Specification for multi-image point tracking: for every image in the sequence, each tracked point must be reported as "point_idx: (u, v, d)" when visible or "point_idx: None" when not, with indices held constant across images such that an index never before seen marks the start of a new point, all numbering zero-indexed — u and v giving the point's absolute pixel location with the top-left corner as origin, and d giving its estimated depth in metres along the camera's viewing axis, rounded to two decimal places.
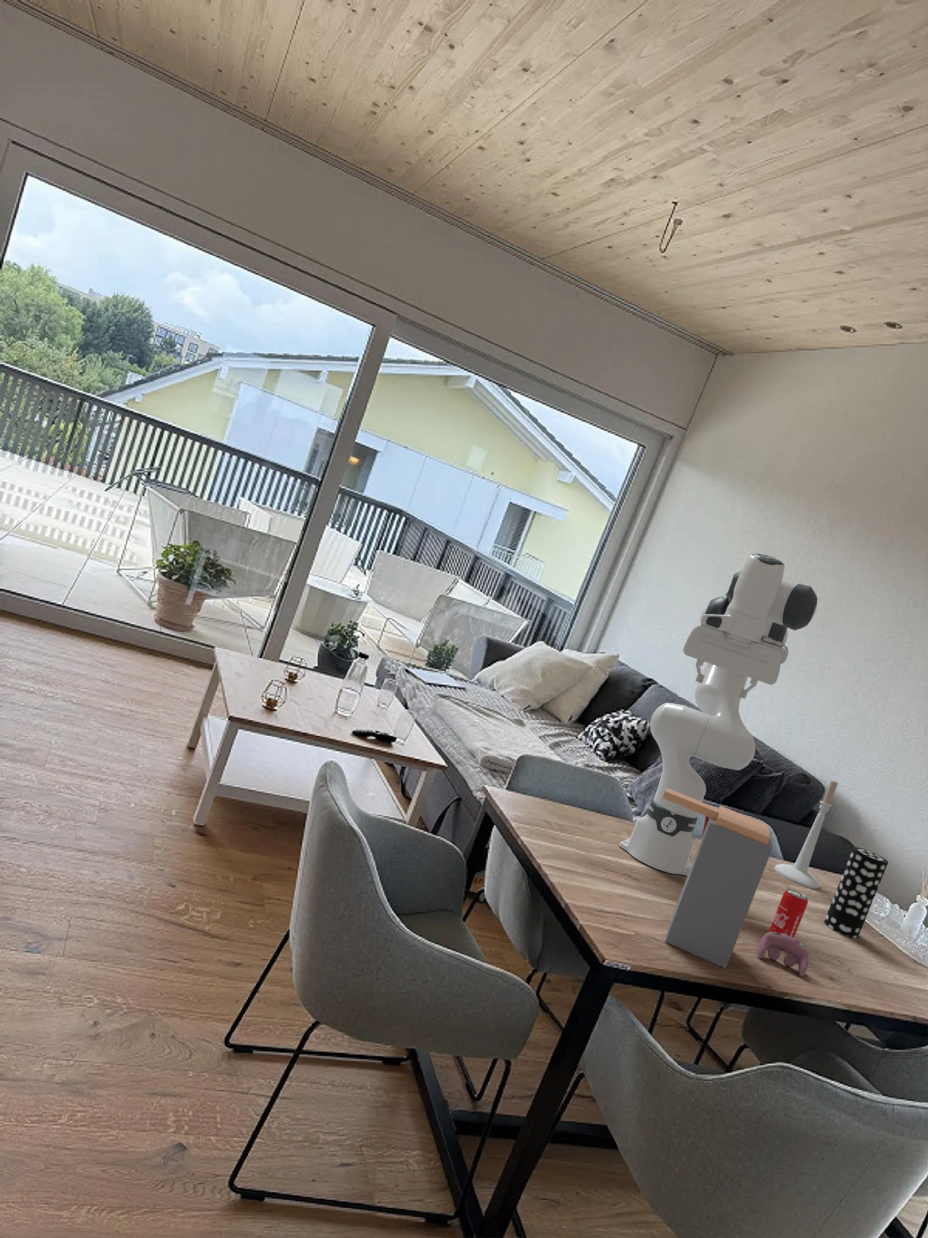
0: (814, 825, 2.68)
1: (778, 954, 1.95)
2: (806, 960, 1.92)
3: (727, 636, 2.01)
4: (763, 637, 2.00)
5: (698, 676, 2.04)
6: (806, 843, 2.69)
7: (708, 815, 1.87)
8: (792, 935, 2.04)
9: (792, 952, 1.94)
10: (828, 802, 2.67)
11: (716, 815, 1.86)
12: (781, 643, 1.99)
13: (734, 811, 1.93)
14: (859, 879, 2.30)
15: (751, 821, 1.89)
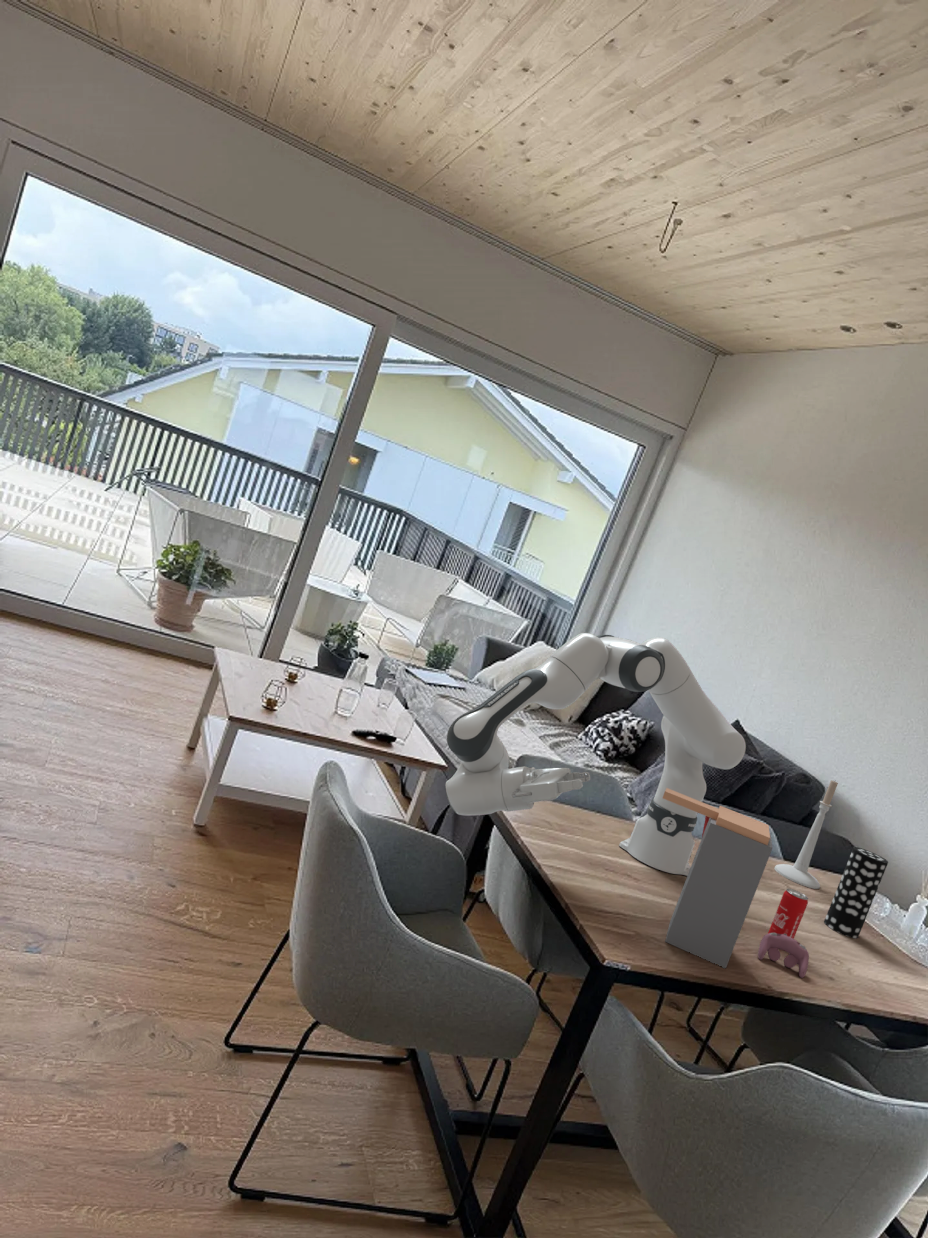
0: (814, 825, 2.68)
1: (778, 955, 1.94)
2: (807, 961, 1.92)
3: None
4: None
5: None
6: (806, 843, 2.69)
7: (708, 815, 1.87)
8: (792, 935, 2.04)
9: (792, 953, 1.94)
10: (828, 802, 2.67)
11: (716, 815, 1.86)
12: (513, 797, 1.91)
13: (734, 811, 1.93)
14: (859, 878, 2.30)
15: (751, 821, 1.89)
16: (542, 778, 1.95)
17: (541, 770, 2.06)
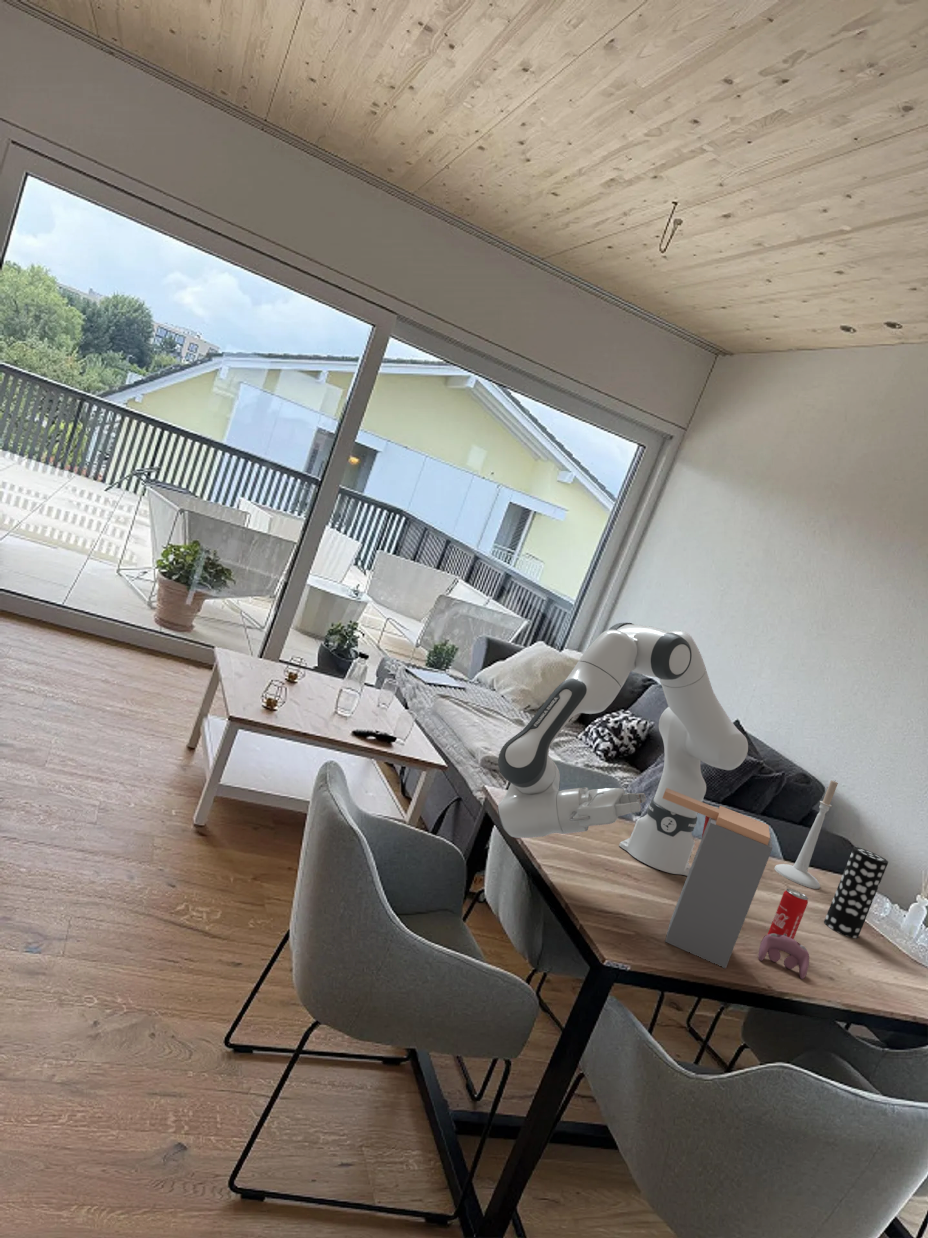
0: (814, 825, 2.68)
1: (779, 956, 1.94)
2: (807, 962, 1.91)
3: None
4: None
5: None
6: (806, 843, 2.69)
7: (708, 815, 1.87)
8: (792, 935, 2.04)
9: (793, 954, 1.93)
10: (828, 802, 2.67)
11: (716, 815, 1.86)
12: (570, 820, 1.88)
13: (734, 811, 1.93)
14: (859, 878, 2.30)
15: (751, 821, 1.89)
16: (598, 800, 1.92)
17: (594, 791, 2.03)
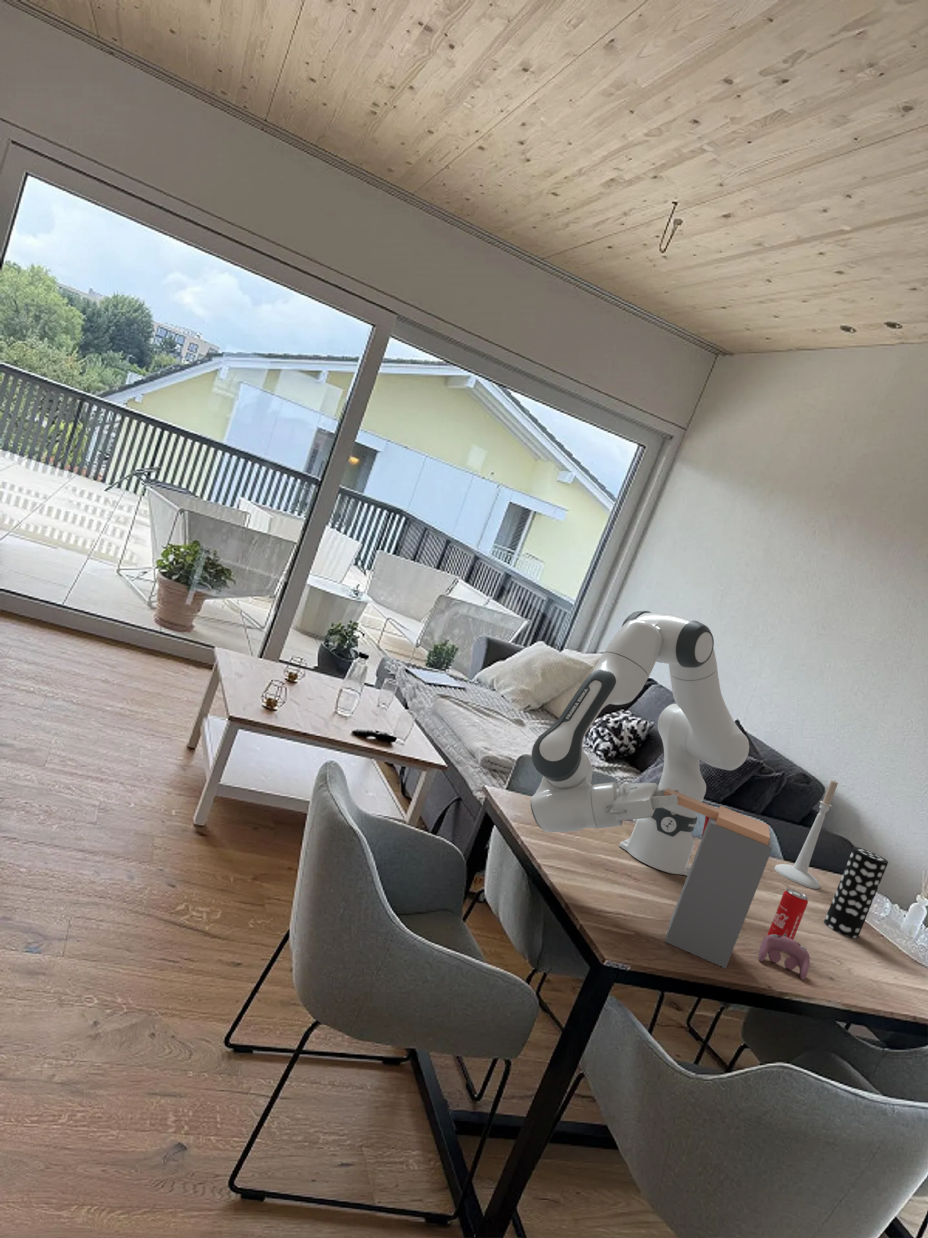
0: (814, 825, 2.68)
1: (779, 957, 1.93)
2: (808, 963, 1.91)
3: None
4: None
5: None
6: (806, 843, 2.69)
7: (708, 815, 1.87)
8: (792, 935, 2.04)
9: (793, 955, 1.93)
10: (828, 802, 2.67)
11: (716, 815, 1.86)
12: (606, 814, 1.86)
13: (734, 811, 1.93)
14: (859, 878, 2.30)
15: (751, 821, 1.89)
16: (634, 794, 1.90)
17: (628, 785, 2.00)
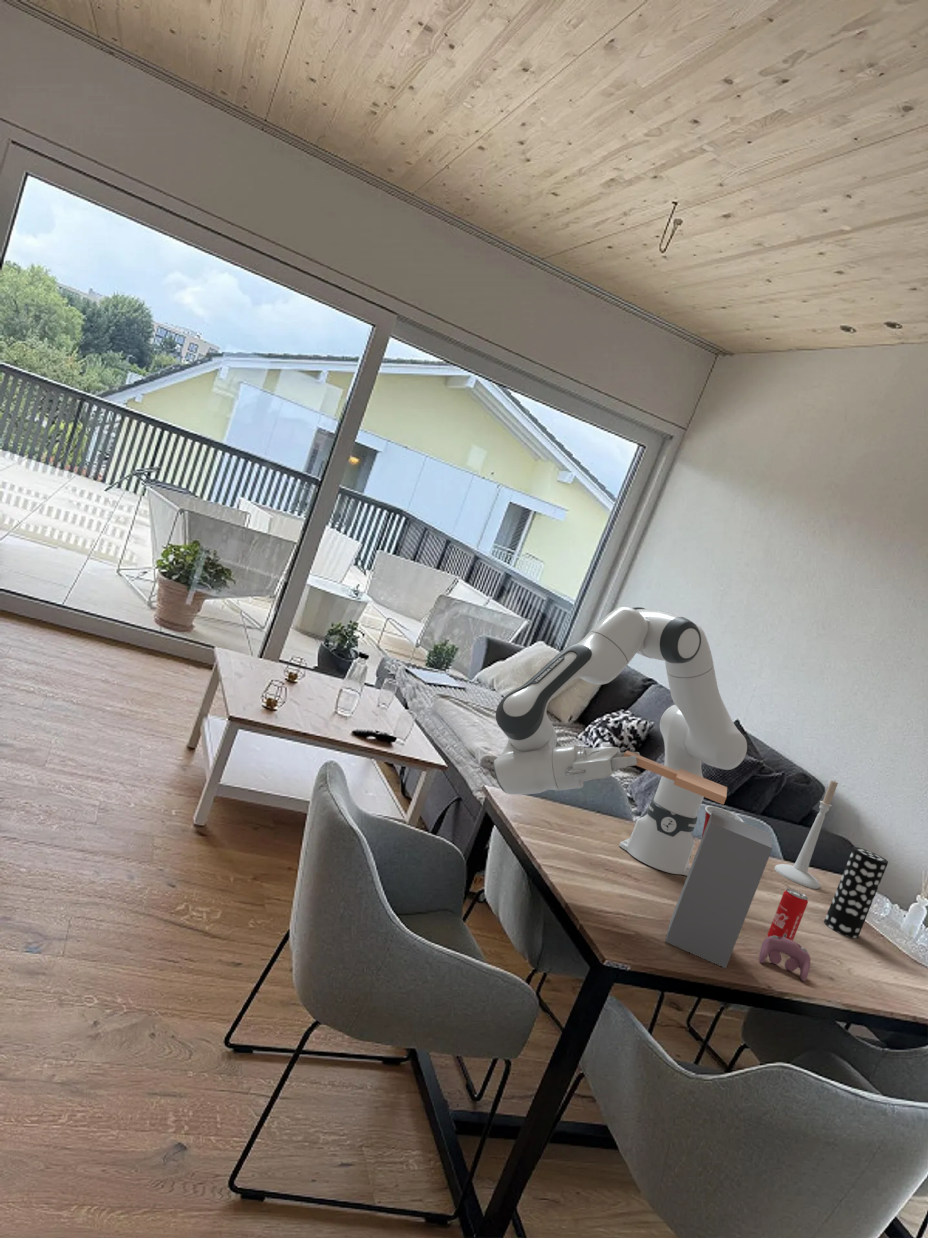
0: (814, 825, 2.68)
1: (779, 958, 1.93)
2: (808, 964, 1.90)
3: None
4: None
5: None
6: (806, 843, 2.69)
7: (667, 776, 1.89)
8: (792, 935, 2.04)
9: (794, 956, 1.92)
10: (828, 802, 2.67)
11: (674, 776, 1.88)
12: (565, 775, 1.88)
13: (694, 774, 1.95)
14: (859, 878, 2.30)
15: (710, 783, 1.91)
16: (594, 756, 1.92)
17: (590, 749, 2.03)
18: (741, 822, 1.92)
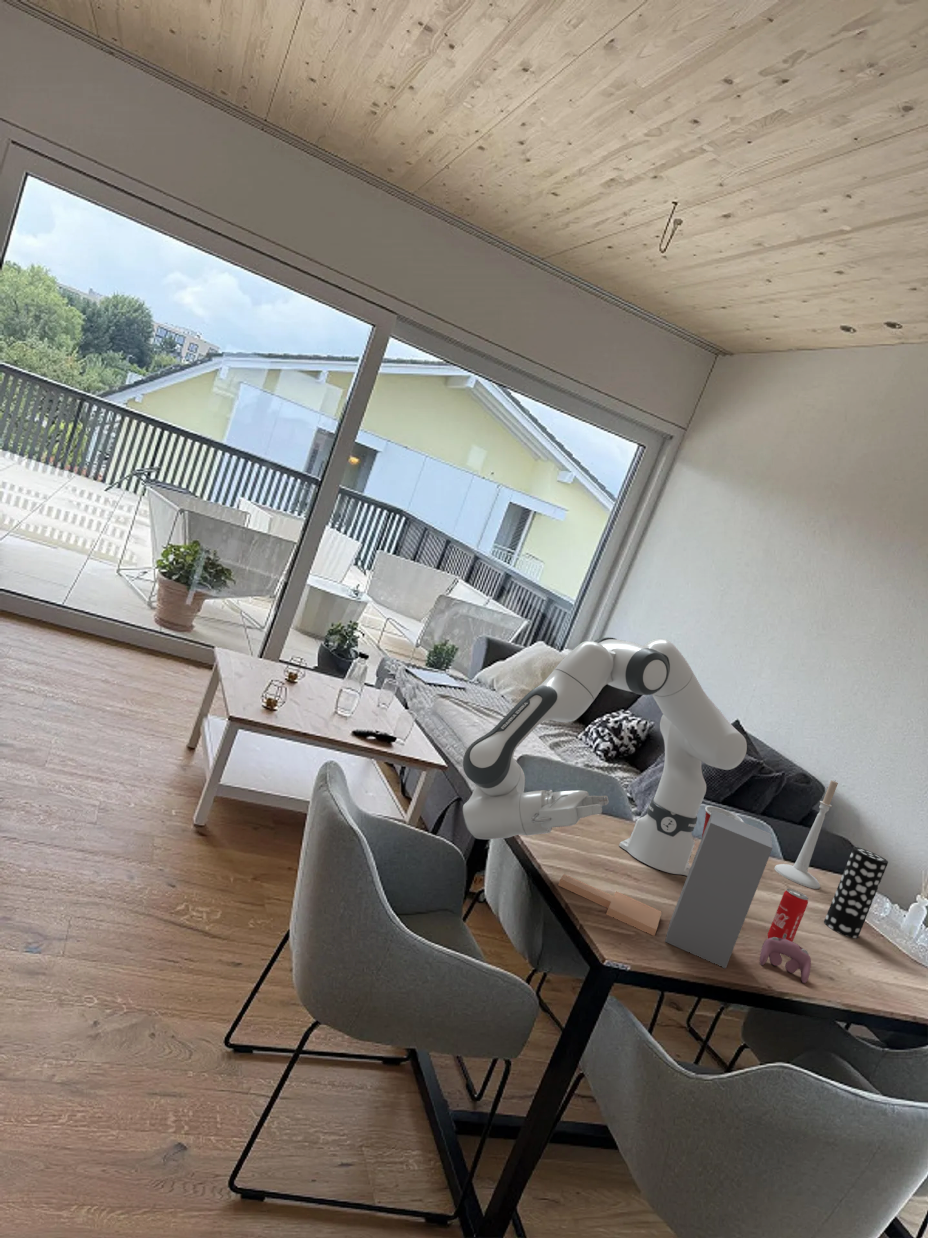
0: (814, 825, 2.68)
1: (780, 960, 1.92)
2: (809, 966, 1.89)
3: None
4: None
5: None
6: (806, 843, 2.69)
7: (601, 903, 1.92)
8: (792, 935, 2.04)
9: (794, 958, 1.91)
10: (828, 802, 2.67)
11: (608, 904, 1.92)
12: (532, 822, 1.90)
13: (629, 897, 1.99)
14: (859, 878, 2.30)
15: (644, 909, 1.95)
16: (561, 802, 1.94)
17: (559, 793, 2.05)
18: (741, 822, 1.92)
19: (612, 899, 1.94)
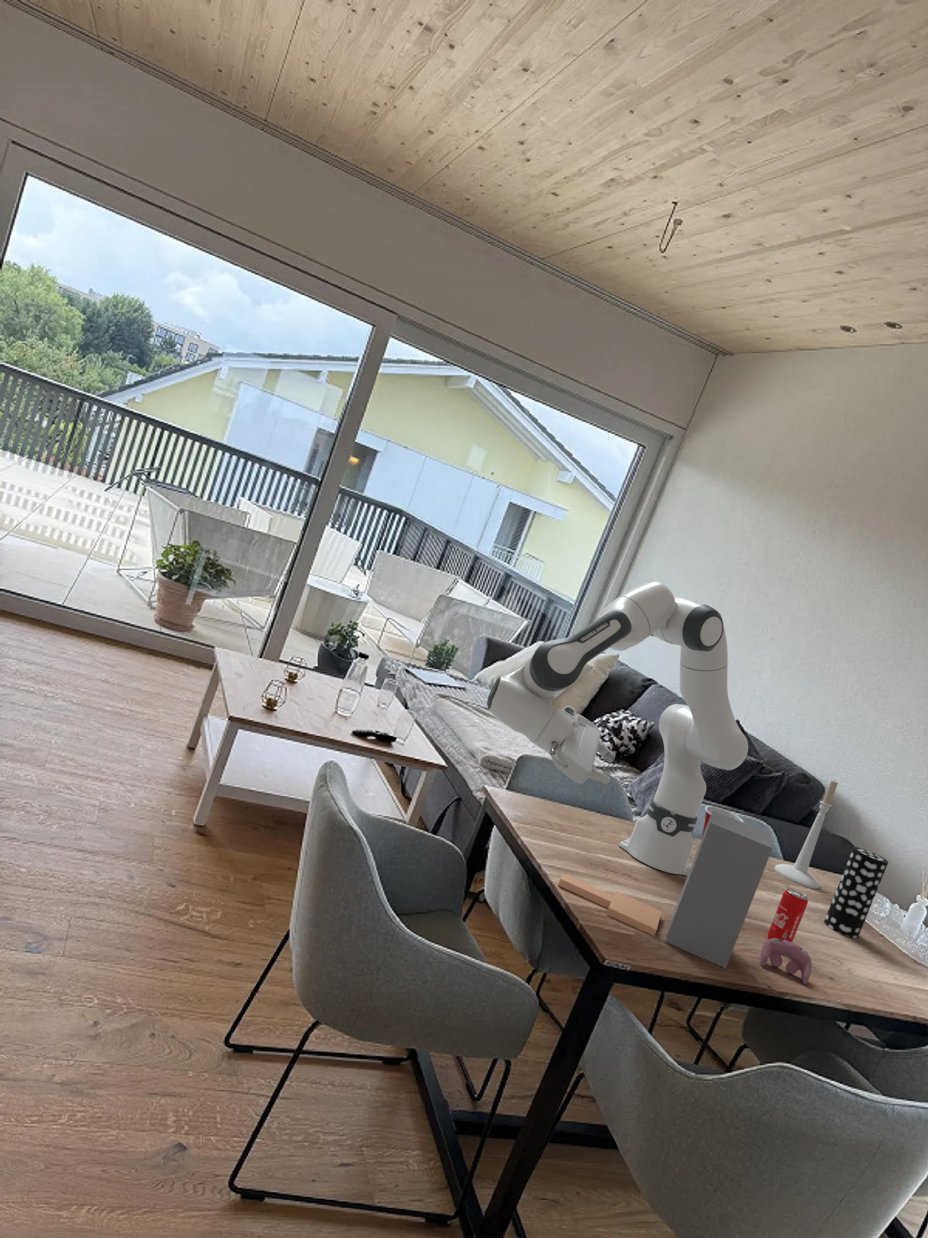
0: (814, 825, 2.68)
1: (780, 961, 1.91)
2: (810, 967, 1.89)
3: None
4: None
5: None
6: (806, 843, 2.69)
7: (601, 903, 1.92)
8: (792, 935, 2.04)
9: (795, 959, 1.91)
10: (828, 802, 2.67)
11: (608, 904, 1.92)
12: None
13: (629, 897, 1.99)
14: (859, 878, 2.30)
15: (644, 909, 1.95)
16: (580, 747, 1.95)
17: (579, 718, 2.04)
18: (741, 822, 1.92)
19: (612, 899, 1.94)
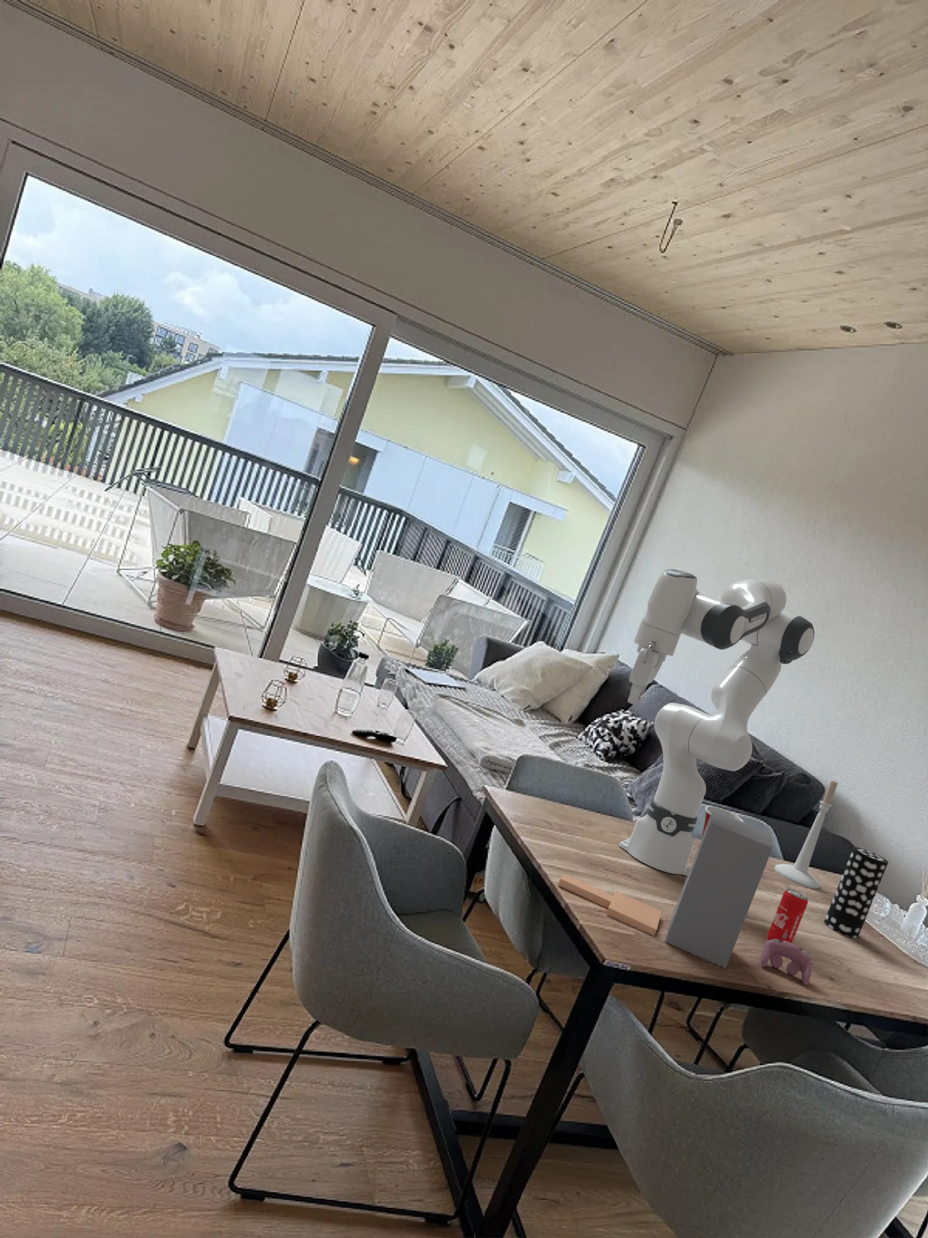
0: (814, 825, 2.68)
1: (781, 962, 1.91)
2: (810, 968, 1.88)
3: None
4: (651, 642, 2.02)
5: None
6: (806, 843, 2.69)
7: (601, 903, 1.92)
8: (792, 935, 2.04)
9: (795, 960, 1.90)
10: (828, 802, 2.67)
11: (608, 904, 1.92)
12: (649, 643, 1.98)
13: (629, 897, 1.99)
14: (859, 878, 2.30)
15: (644, 909, 1.95)
16: (653, 669, 2.03)
17: None
18: (741, 822, 1.92)
19: (612, 899, 1.94)
